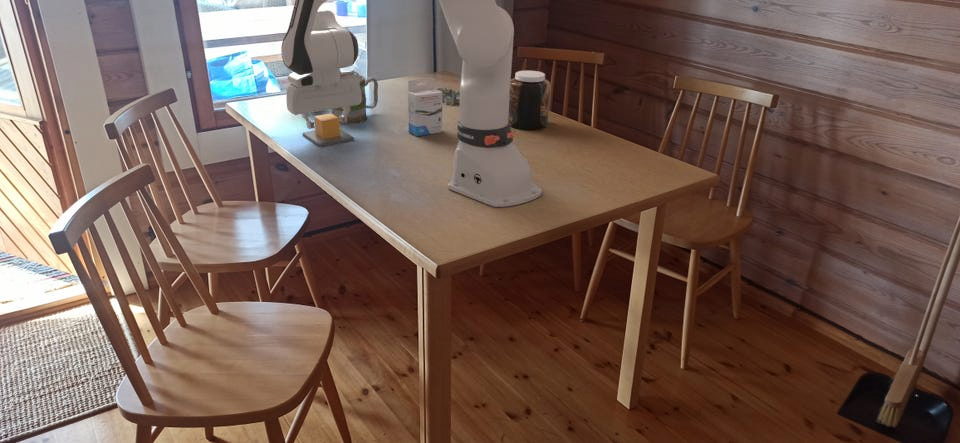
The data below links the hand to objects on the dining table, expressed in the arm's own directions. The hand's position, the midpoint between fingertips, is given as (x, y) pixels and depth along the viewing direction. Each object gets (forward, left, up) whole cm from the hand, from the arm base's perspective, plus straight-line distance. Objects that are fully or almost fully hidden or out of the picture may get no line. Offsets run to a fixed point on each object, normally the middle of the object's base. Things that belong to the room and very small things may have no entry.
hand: (327, 125), depth 182 cm
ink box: (-10, -25, -4) cm, 27 cm away
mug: (+13, -15, -4) cm, 20 cm away
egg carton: (+14, -49, -4) cm, 51 cm away
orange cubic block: (0, 0, -3) cm, 3 cm away
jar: (-20, -54, -4) cm, 58 cm away
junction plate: (0, 0, -4) cm, 4 cm away
